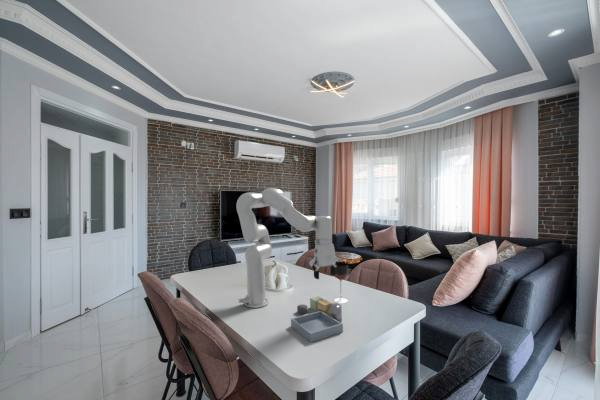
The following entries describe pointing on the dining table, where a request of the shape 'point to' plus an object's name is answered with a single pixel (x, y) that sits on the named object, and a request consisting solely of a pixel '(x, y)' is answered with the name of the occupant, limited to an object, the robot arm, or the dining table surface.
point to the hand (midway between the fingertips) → (324, 276)
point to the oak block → (325, 306)
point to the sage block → (315, 302)
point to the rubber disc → (302, 309)
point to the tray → (316, 326)
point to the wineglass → (341, 278)
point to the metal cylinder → (336, 312)
